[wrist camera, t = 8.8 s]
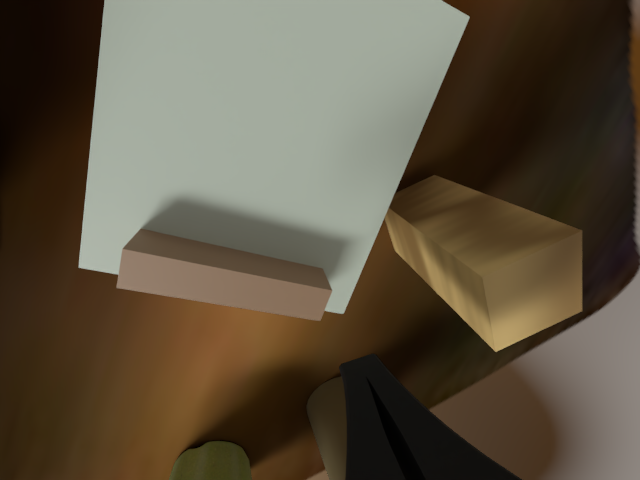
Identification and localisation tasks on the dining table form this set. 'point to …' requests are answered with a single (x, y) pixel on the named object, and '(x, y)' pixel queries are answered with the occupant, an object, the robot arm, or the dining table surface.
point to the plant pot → (212, 463)
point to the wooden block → (488, 258)
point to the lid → (256, 143)
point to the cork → (330, 425)
